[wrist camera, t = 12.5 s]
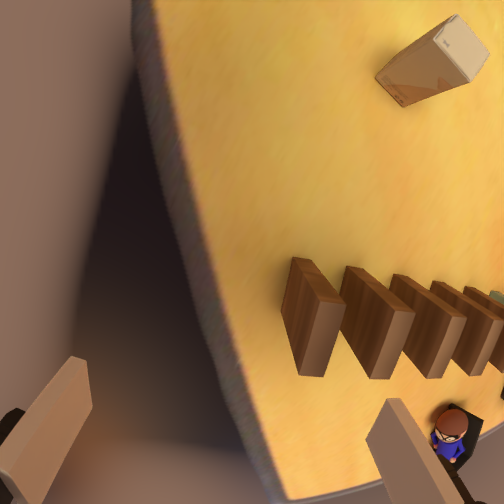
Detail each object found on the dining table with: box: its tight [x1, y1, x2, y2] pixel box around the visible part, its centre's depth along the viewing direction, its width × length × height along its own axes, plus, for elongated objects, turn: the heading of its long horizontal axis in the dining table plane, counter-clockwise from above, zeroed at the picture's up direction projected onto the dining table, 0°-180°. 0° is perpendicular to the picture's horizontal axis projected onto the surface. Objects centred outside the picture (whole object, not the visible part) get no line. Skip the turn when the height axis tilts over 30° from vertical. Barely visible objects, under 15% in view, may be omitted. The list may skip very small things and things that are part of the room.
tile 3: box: [389, 274, 467, 379], centre depth 26 cm, size 2×6×11 cm, turn 170°
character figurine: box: [431, 403, 484, 472], centre depth 33 cm, size 8×7×15 cm
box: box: [375, 14, 490, 107], centre depth 20 cm, size 5×4×11 cm
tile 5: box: [463, 286, 504, 373], centre depth 27 cm, size 2×6×11 cm, turn 170°
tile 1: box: [281, 257, 346, 377], centre depth 25 cm, size 2×6×11 cm, turn 170°
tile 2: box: [339, 266, 416, 379], centre depth 25 cm, size 2×6×11 cm, turn 170°
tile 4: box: [430, 281, 504, 376], centre depth 26 cm, size 2×6×11 cm, turn 170°
